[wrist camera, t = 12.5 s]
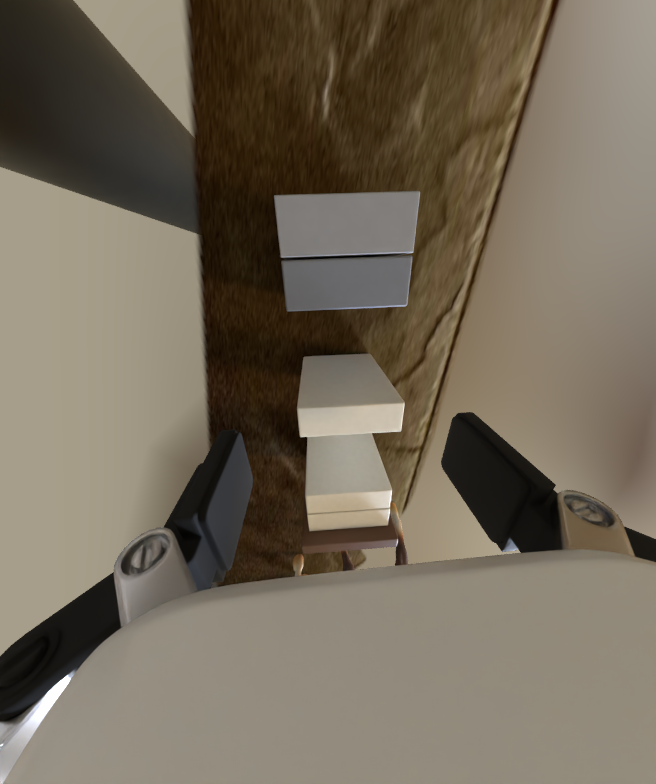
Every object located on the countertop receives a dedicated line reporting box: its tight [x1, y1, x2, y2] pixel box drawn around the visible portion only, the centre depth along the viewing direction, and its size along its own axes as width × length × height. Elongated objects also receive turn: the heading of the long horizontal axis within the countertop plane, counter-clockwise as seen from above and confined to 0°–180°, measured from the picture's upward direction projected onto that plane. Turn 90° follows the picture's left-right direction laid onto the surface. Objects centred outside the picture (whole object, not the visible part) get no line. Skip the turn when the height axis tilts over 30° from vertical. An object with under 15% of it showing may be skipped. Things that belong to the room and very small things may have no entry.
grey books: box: [274, 191, 420, 311], centre depth 14 cm, size 6×4×8 cm
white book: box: [297, 354, 405, 437], centre depth 17 cm, size 6×2×9 cm, turn 92°
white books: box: [302, 433, 398, 554], centre depth 21 cm, size 7×5×10 cm
